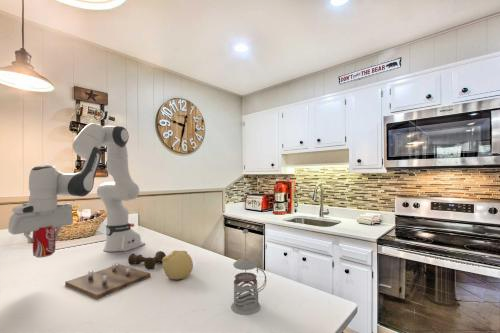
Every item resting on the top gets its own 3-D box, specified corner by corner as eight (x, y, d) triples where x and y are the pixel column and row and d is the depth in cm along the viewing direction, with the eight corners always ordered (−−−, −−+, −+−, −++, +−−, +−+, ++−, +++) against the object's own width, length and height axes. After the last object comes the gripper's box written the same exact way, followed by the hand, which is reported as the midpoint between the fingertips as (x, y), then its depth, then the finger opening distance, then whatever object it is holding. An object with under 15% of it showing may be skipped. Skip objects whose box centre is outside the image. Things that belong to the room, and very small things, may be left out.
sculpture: (181, 269, 114) (181, 245, 115) (198, 276, 107) (198, 250, 107) (158, 277, 105) (158, 251, 106) (174, 285, 98) (174, 257, 98)
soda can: (42, 259, 96) (42, 227, 96) (28, 257, 98) (27, 227, 98) (60, 252, 103) (59, 223, 103) (46, 251, 105) (45, 223, 105)
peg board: (119, 267, 117) (119, 257, 117) (150, 276, 106) (150, 266, 106) (65, 285, 98) (65, 273, 98) (96, 299, 87) (96, 286, 87)
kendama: (138, 261, 127) (173, 263, 122) (123, 268, 118) (161, 271, 112) (137, 249, 127) (172, 251, 122) (123, 255, 118) (160, 258, 113)
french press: (230, 299, 86) (230, 226, 87) (264, 298, 87) (263, 225, 88) (230, 315, 76) (230, 233, 77) (268, 313, 77) (268, 232, 78)
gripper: (68, 202, 111) (68, 233, 111) (6, 208, 93) (6, 246, 93) (76, 203, 108) (76, 235, 108) (13, 210, 90) (13, 248, 90)
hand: (43, 240), depth 100 cm, fingers closed on soda can, 7 cm apart
